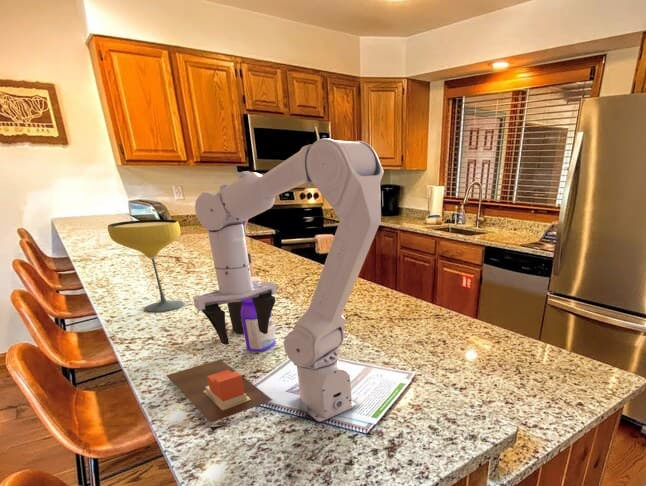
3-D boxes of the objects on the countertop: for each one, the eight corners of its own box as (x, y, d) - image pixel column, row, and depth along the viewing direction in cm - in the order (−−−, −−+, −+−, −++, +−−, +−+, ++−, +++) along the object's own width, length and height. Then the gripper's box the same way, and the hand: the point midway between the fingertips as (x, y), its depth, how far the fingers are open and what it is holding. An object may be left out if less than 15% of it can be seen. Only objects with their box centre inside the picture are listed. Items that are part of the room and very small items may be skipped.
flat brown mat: (273, 406, 77) (272, 398, 77) (212, 430, 71) (210, 421, 70) (221, 365, 93) (220, 358, 93) (167, 381, 87) (165, 374, 86)
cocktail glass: (134, 302, 137) (111, 221, 126) (196, 295, 144) (179, 218, 133) (128, 319, 122) (101, 229, 111) (197, 310, 129) (178, 224, 118)
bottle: (265, 358, 97) (254, 283, 89) (243, 356, 98) (229, 282, 90) (280, 346, 103) (270, 275, 96) (259, 344, 104) (247, 274, 97)
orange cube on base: (247, 398, 77) (242, 375, 75) (223, 407, 74) (217, 383, 72) (229, 383, 82) (224, 361, 80) (206, 391, 79) (200, 368, 77)
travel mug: (228, 334, 111) (212, 256, 102) (237, 324, 117) (224, 250, 109) (257, 333, 111) (245, 256, 102) (265, 323, 118) (254, 250, 109)
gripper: (260, 256, 82) (270, 323, 87) (180, 268, 73) (197, 342, 78) (278, 261, 77) (287, 332, 83) (195, 275, 68) (212, 353, 74)
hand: (244, 337), depth 80 cm, fingers open, 7 cm apart
